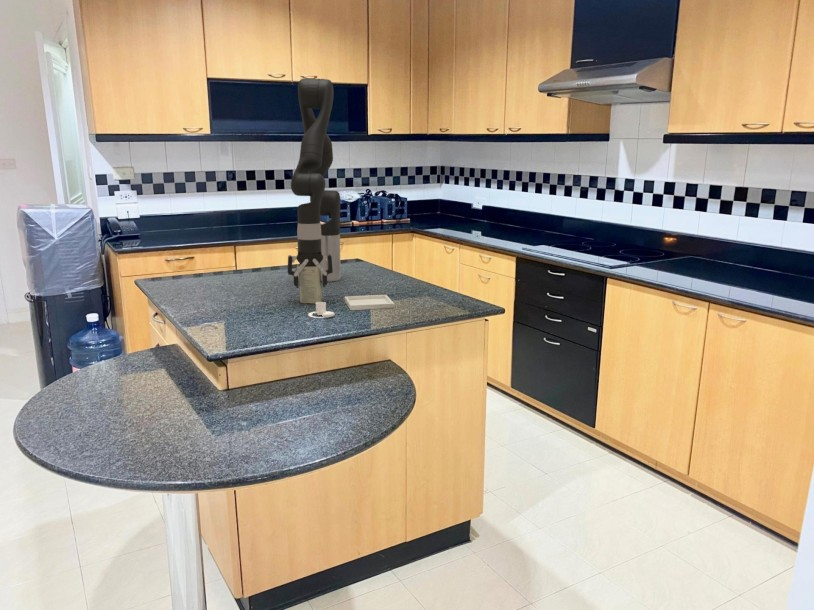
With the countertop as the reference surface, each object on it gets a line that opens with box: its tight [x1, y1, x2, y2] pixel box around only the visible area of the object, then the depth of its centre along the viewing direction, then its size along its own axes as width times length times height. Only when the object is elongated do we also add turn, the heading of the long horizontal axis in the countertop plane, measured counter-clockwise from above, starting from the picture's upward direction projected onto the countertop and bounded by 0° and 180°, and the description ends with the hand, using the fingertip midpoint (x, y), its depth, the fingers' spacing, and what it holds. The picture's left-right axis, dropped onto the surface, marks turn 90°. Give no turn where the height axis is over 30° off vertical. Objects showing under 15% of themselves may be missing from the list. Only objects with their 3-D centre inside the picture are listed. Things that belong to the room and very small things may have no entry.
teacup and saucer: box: [307, 301, 335, 319], centre depth 194 cm, size 9×8×4 cm
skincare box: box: [298, 266, 323, 304], centre depth 208 cm, size 6×4×12 cm
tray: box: [344, 294, 395, 311], centre depth 208 cm, size 12×14×2 cm
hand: (310, 286), depth 208 cm, fingers open, 8 cm apart
